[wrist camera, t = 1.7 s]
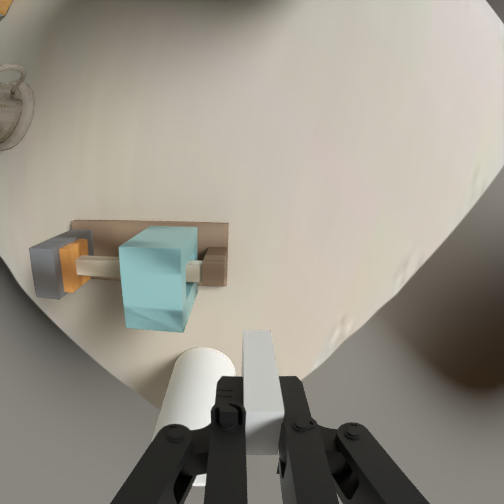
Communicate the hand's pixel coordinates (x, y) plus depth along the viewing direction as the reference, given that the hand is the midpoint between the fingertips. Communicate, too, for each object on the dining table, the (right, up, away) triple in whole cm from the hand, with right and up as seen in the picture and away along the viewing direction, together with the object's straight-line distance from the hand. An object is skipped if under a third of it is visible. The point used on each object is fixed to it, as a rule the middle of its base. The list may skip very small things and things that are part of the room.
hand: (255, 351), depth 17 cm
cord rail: (-12, +6, +18) cm, 23 cm away
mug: (-31, +25, +13) cm, 42 cm away
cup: (-7, -10, +23) cm, 26 cm away
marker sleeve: (-8, +5, +15) cm, 18 cm away
